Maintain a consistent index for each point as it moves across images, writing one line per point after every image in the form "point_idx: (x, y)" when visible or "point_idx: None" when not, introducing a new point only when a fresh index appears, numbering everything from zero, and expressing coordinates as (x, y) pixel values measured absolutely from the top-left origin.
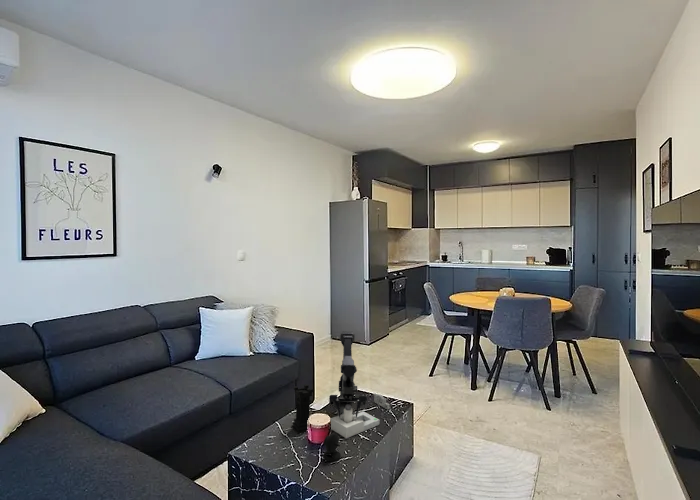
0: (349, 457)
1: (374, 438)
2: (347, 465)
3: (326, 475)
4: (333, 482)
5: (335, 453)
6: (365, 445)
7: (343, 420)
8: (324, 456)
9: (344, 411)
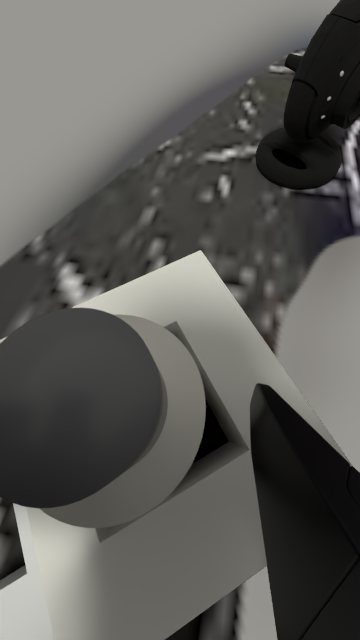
0: (215, 154)
1: (27, 271)
2: (233, 119)
3: None
4: (290, 69)
5: (286, 137)
6: (110, 219)
7: (184, 480)
8: (335, 141)
9: (198, 375)
